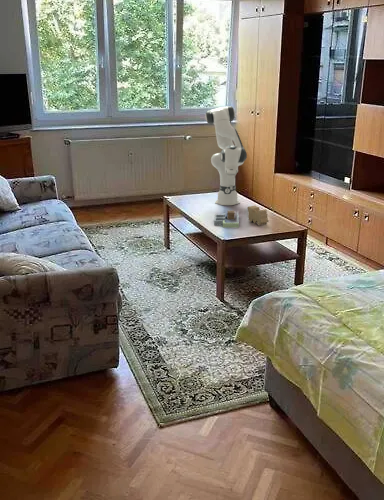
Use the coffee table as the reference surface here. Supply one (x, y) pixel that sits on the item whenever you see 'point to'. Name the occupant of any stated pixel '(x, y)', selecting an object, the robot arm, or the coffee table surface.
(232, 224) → the trap lane
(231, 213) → the block
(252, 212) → the toy train
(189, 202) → the coffee table surface
